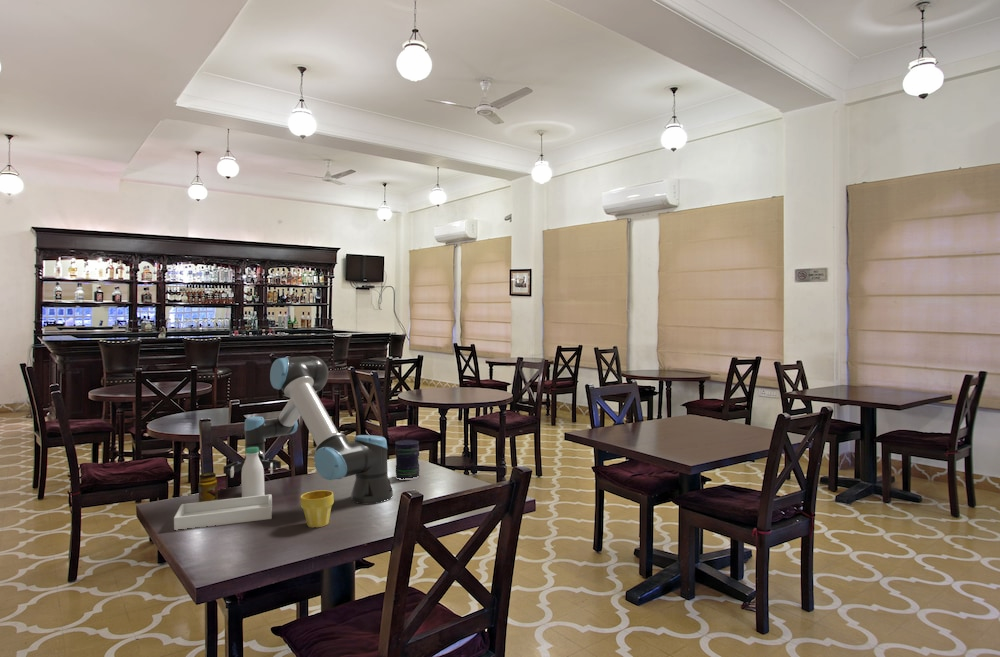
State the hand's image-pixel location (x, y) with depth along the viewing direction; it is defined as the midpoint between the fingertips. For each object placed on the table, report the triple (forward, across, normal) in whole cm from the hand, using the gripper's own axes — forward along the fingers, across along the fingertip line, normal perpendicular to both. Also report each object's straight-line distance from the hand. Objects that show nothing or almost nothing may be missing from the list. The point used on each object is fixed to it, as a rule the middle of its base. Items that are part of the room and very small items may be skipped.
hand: (251, 472), depth 223 cm
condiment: (+1, +16, -11) cm, 19 cm away
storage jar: (-10, -60, -11) cm, 62 cm away
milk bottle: (+1, 0, -11) cm, 11 cm away
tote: (+16, +8, -11) cm, 21 cm away
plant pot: (+36, -21, -11) cm, 43 cm away
